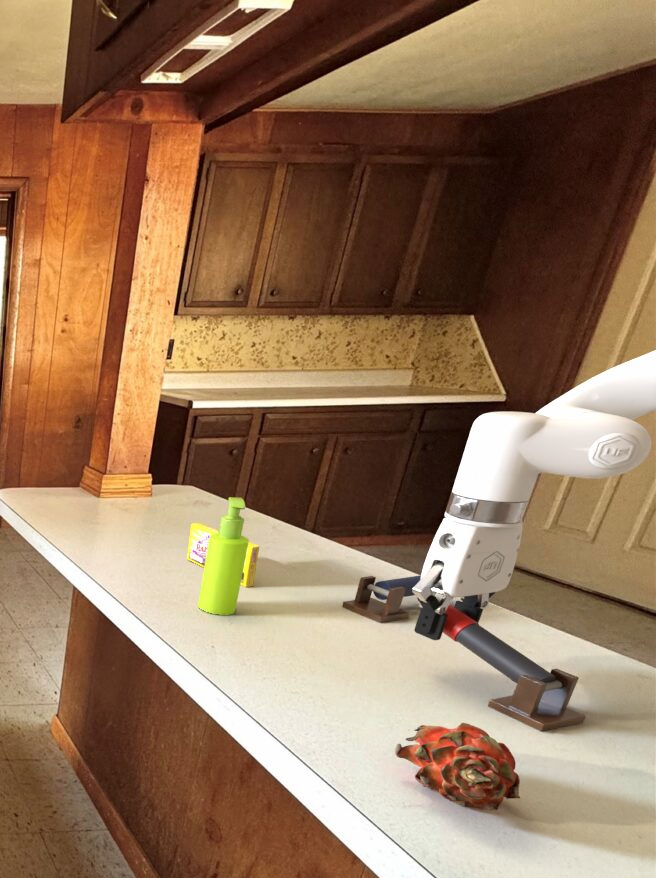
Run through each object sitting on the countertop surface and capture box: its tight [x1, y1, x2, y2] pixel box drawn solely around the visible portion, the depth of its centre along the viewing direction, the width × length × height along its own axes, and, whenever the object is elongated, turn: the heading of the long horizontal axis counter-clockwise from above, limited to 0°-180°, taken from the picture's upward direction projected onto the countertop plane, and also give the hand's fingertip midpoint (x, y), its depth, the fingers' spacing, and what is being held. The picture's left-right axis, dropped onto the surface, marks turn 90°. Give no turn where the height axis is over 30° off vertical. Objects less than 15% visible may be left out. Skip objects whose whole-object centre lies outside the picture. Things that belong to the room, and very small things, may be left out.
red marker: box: [442, 604, 562, 691], centre depth 88 cm, size 15×5×4 cm, turn 14°
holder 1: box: [341, 575, 411, 624], centre depth 112 cm, size 6×7×6 cm
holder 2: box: [487, 668, 587, 732], centre depth 83 cm, size 6×7×6 cm
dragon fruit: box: [394, 722, 521, 811], centre depth 70 cm, size 8×8×12 cm
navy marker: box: [367, 574, 443, 601], centre depth 113 cm, size 15×5×4 cm, turn 104°
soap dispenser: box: [197, 496, 250, 616], centre depth 113 cm, size 6×7×20 cm
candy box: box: [186, 522, 261, 588], centre depth 131 cm, size 16×2×8 cm, turn 14°
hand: (444, 632), depth 93 cm, fingers closed on red marker, 5 cm apart
